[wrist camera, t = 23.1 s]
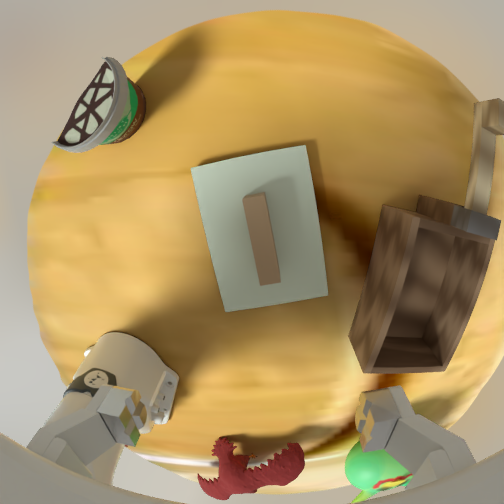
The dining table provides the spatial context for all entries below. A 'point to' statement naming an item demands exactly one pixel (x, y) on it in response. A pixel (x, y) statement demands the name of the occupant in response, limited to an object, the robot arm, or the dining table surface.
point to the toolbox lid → (262, 228)
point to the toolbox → (421, 286)
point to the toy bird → (374, 472)
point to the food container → (104, 111)
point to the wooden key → (483, 153)
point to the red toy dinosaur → (251, 471)
